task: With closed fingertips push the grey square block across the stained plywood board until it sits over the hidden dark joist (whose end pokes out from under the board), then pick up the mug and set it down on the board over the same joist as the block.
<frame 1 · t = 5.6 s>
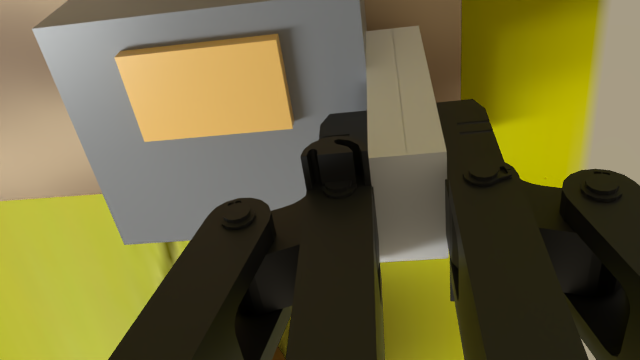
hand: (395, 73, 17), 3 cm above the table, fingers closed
grey square block: (244, 80, 19), point 2 cm above the table, touching gripper
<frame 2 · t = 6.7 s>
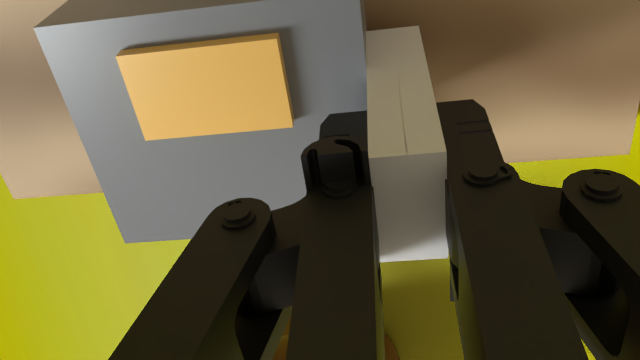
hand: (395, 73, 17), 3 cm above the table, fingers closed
mug: (318, 322, 28), on the table
grey square block: (244, 79, 19), point 2 cm above the table, touching board, gripper
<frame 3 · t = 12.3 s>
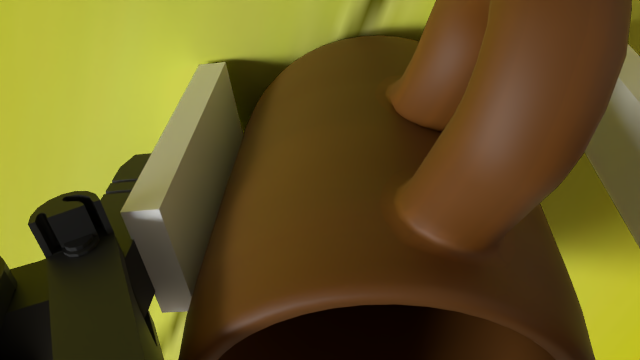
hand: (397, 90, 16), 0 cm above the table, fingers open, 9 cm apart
mug: (395, 79, 16), on the table, touching gripper
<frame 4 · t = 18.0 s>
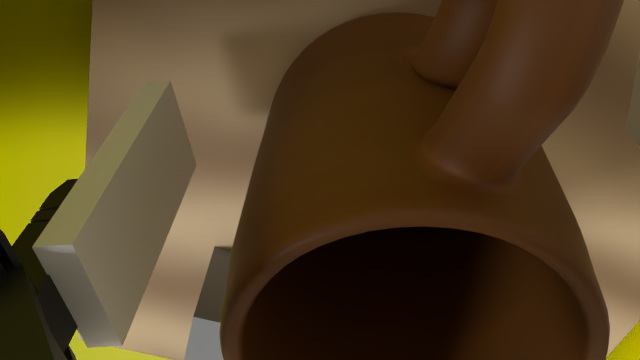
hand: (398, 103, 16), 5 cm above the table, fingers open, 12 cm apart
mug: (411, 54, 18), point 2 cm above the table, touching board
grey square block: (294, 327, 25), point 2 cm above the table, touching board
board: (393, 181, 23), on the table
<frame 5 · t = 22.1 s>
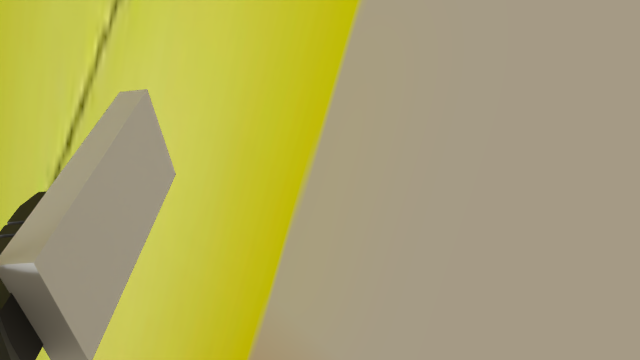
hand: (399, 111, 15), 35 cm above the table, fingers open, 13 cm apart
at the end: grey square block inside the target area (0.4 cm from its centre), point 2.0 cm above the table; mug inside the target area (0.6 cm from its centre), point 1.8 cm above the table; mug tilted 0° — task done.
